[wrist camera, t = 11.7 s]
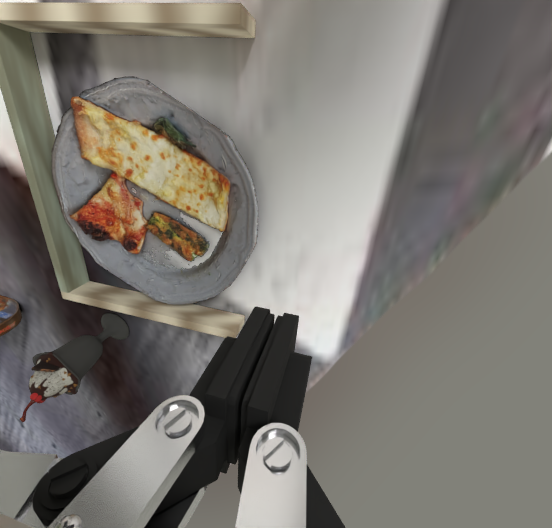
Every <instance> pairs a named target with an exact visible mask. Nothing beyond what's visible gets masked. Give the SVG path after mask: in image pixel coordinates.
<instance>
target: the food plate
mask: <svg viewBox="0 0 552 528" xmlns="http://www.w3.org/2000/svg"><path fill="white" fill-rule="evenodd" d="M150 83H151V82H150ZM218 129H219V128H217V127H216V126H214V125H213V124H211V123H209V122H208V121H206V120H205V119H203V118H202V117H200V116H199V115H198V114H197V113H195V112H194V111H192V110H190V109H189V108H188V107H186V106H185V105H183V104H182V103H180V102H179V101H177V100H176V99H174V98H173V97H171V96H170V95H168V94H167V93H165V92H164V91H162V90H161V89H159V88H158V87H156V86H155V85H154V84H150V85H149V81H148V80H143V79H139V78H137V77H136V78H135V77H122V78H114V79H113V80H111V81H108V82H105V83H103V84H101V85H99V86H97V87H94V88H91V89H88V90H85V91H83V92H82V93H81V94H80V96H79V97H72V98H71V107H70V108H69V109H68V110H67V111H66V112H65V114H64V115H63V116H62V119H61V124H60V125H59V127H58V130H57V135H56V139H55V141H54V144H53V148H52V151H51V152H52V155H51V156H52V161H51V162H52V169H51V171H52V177H53V182H54V186H55V190H56V193H57V197H58V200H59V204H60V207H61V212H62V214H63V217H64V219H65V221H66V223H67V224H68V226H69V227H70V229H71V230H73V233H74V234H76V235H77V237H78V239H79V243H80V244H81V245H82V246H83V247H84V248H85V249H86V250H87V251H88V252H89V253H90V255H91V256H92V257H93V259H94V260H95V261H96V263H97V264H99V265H100V266H102V267H104V269H106V270H108V271H109V272H110V273H112V274H114V275H115V276H117V277H118V278H120V279H122V280H123V281H124V282H126V283H127V284H129V285H131V286H132V287H135V289H137V290H139V291H141V292H142V293H144V294H145V295H146V294H147V295H149V296H148V297H150V298H151V297H152V299H154V300H155V301H160V302H163V303H167V304H173V305H182V304H190V303H191V304H192V303H196V302H199V301H202V300H206V299H209V298H213V297H214V296H216V295H218V294H220V293H221V292H222V291H224V290H225V289H226V288H227V287H229V285H230V286H231V284H232V282H233V281H234V280H235V278H237V276H238V275H239V273H240V272H241V270H242V268H243V267H244V265H245V264H246V262H247V260H248V258H249V257H250V254H251V253H252V251H253V249H254V247H255V245H256V241H257V231H258V229H257V228H258V224H257V223H258V222H257V221H258V214H257V213H258V208H257V199H256V194H255V189H254V184H253V181H252V178H251V176H250V173H249V171H248V168H247V167H246V165H245V164H246V163H245V162H244V160H243V159H242V157H241V155H240V154H239V152H238V151H237V149H236V147H235V145H234V143H233V141H232V139H230V136H229V135H228V136H229V137H228V136H226V133H225V134H224V133H222V132H223V131H220V129H219V130H218ZM131 188H134V189H135V190H136V194H135V193H133V192H132V191H131ZM235 200H236V201H235ZM153 201H154V202H153ZM180 211H181V212H182V213H183V215H187V216H189V217H191V218H195V219H198V220H199V221H200V222H201V223H205V224H207V225H209V226H211V227H213V228H214V229H219V230H220V232H222V231H224V232H223V233H222V235H221V238H220V240H219V242H218V244H217V246H216V247H215V249H214V251H213V252H212V255H211V257H210V258H209V259H207V260H206V261H205V262H204V263H203V264H202V263H200V264H199V266H198V267H197V266H195V265H194V266H193V267H192V268H191V269H186V268H185V269H184V268H183V267H182V268H181V269H182V270H180V269H177V268H176V267H175V266H173V267H172V265H167V267H168V269H167V268H165V265H164V267H163V266H162V265H158V264H157V263H160V262H158V260H156V259H154V261H156V262H154V261H153V259H151V258H150V255H151V256H152V258H154V256H153V255H152V254H149V251H152V253H153V254H155V253H156V251H155V250H157V251H158V252H161V253H163V254H164V258H166V259H168V254H166V253H165V251H170V249H173V250H176V251H177V252H178V254H180V255H181V256H182V257H183V258H185V259H186V260H188V261H194V258H196V257H197V256H200V257H202V256H203V255H204V254H205V253H206V251H208V249H207V248H209V241H207V240H206V239H205V238H204V237H202V235H201V234H199V233H198V232H196V231H195V230H193V229H192V228H191V227H190V226H187V225H186V222H185V224H184V222H183V218H181V217H180ZM177 219H178V220H177ZM188 225H189V224H188ZM161 246H162V247H161ZM152 248H154V249H152ZM146 250H147V252H145V251H146ZM142 251H144V253H142ZM165 254H166V256H165ZM142 256H143V257H147V259H146V258H143V257H142ZM171 257H172V256H171ZM146 260H147V262H146ZM150 260H151V261H152V262H153V263H155V264H156V265H153V264H152V263H150V262H149V261H150ZM168 260H169V261H170V259H168ZM181 263H182V262H181ZM163 264H165V263H163ZM188 265H189V264H188Z"/></svg>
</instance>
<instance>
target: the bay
mask: <svg viewBox="0 0 552 528" xmlns="http://www.w3.org/2000/svg"><path fill="white" fill-rule="evenodd" d="M255 23H256V20H255V19H254V18H253V17H252V16H251V14H250V13H249V12H248V11H247V10H246V9H245V8H244V6H243V5H242V4H241V3H0V88H1V91H2V95H3V98H4V102H5V105H6V108H7V112H8V115H9V118H10V122H11V125H12V129H13V132H14V135H15V139H16V142H17V145H18V149H19V152H20V155H21V159H22V162H23V166H24V169H25V172H26V176H27V179H28V182H29V186H30V189H31V193H32V196H33V199H34V203H35V206H36V209H37V213H38V216H39V219H40V223H41V226H42V230H43V233H44V236H45V240H46V243H47V246H48V250H49V253H50V257H51V260H52V263H53V267H54V270H55V273H56V277H57V280H58V283H59V287H60V290H61V294H62V297H63V299H67V300H71V301H75V302H79V303H83V304H87V305H92V306H96V307H100V308H104V309H108V310H112V311H116V312H121V313H125V314H129V315H133V316H137V317H141V318H145V319H150V320H154V321H158V322H162V323H166V324H170V325H174V326H179V327H183V328H187V329H191V330H195V331H199V332H204V333H208V334H212V335H216V336H220V337H224V338H226V337H227V336H229V337H234V338H236V336H237V335H238V333H239V331H240V330H241V328H242V326H243V324H244V320H245V315H240V314H236V313H231V312H227V311H222V310H218V309H213V308H209V307H204V306H200V305H195V304H191V303H190V304H182V305H173V304H167V303H163V302H160V301H155V300H154V299H152V297H151V298H150V297H148V296H149V295H147V294H146V295H145V294H144V293H141V292H137V291H132V290H128V289H123V288H119V287H114V286H110V285H105V284H101V283H96V282H92V281H89V277H88V273H87V269H86V264H85V260H84V256H83V252H82V248H81V244H80V243H79V239H78V237H77V235H76V234H74V233H73V230H71V229H70V227H69V226H68V224H67V223H66V221H65V219H64V217H63V214H62V212H61V207H60V204H59V200H58V197H57V193H56V190H55V186H54V182H53V177H52V171H51V169H52V162H51V161H52V156H51V155H52V152H51V151H52V148H53V144H54V141H55V136H54V131H53V127H52V123H51V119H50V115H49V111H48V106H47V102H46V98H45V94H44V90H43V86H42V82H41V77H40V73H39V69H38V65H37V61H36V57H35V52H34V48H33V44H32V40H31V36H30V32H41V33H78V34H116V35H153V36H190V37H227V38H255Z"/></svg>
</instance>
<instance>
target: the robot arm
mask: <svg viewBox="0 0 552 528" xmlns="http://www.w3.org/2000/svg"><path fill="white" fill-rule="evenodd" d="M298 321H299V316H297V315H292V314H288V313H284V315H283V316H279V315H278V317H277V319H276V321H275V324H274V314H270V310H269V309H265V308H260V307H255V308H254V309H253V311H252V313H251V314H250V316H249V318H248V320H247V321H246V323H245V325H244V327H243V329H242V330H241V332H240V334H239V336H238V337H237V338H234V337H229V336H227V337H226V338H225V339H224V341H223V342H222V344H221V345H220V347H219V349H218V350H217V352H216V353H215V355H214V357H213V358H212V360H211V361H210V363H209V365H208V366H207V368H206V369H205V371H204V373H203V374H202V376H201V377H200V379H199V381H198V382H197V384H196V386H195V387H194V389H193V390H192V392H191V394H190V395H189V396H188V395H179V396H175V397H172V398H170V399H168V400H166V401H164V402H163V403H161V404H160V405H159V406H158V407H157V408H156V409H155V410H154V411H153V412H152V413H151V414H150V416H149V417H148V418H147V419H146V420H145V421H144V422H143V423H142V424H141V425H140V426H139V427H136V428H134V429H132V430H129V431H127V432H124V433H122V434H119V435H117V436H115V437H112V438H110V439H107V440H105V441H103V442H100V443H98V444H95V445H93V446H90V447H88V448H86V449H83V450H81V451H78V452H76V453H73V454H71V455H69V456H67V457H66V458H58V456H57V454H38V453H19V452H1V451H0V528H185V527H186V525H187V523H188V521H189V520H190V518H191V516H192V514H193V513H194V511H195V509H196V507H197V506H198V504H199V502H200V500H201V498H202V497H203V495H204V493H205V491H206V488H207V486H208V485H209V484H210V483H212V482H214V481H216V480H217V479H218V476H219V474H220V472H223V473H227V470H228V468H229V465H230V463H232V464H236V462H237V460H238V462H239V463H238V488H239V491H240V493H241V498H240V504H239V510H238V515H237V520H236V526H235V528H345V526H344V524H343V523H342V521H341V520H340V518H339V516H338V515H337V513H336V511H335V510H334V508H333V507H332V505H331V503H330V502H329V500H328V498H327V497H326V495H325V493H324V492H323V490H322V489H321V487H320V485H319V484H318V482H317V480H316V479H315V477H314V475H313V474H312V472H311V470H310V469H309V467H308V466H307V453H306V447H305V443H304V441H303V439H302V437H301V436H300V434H299V433H298V428H299V423H300V418H301V412H302V408H303V402H304V397H305V392H306V387H307V382H308V376H309V371H310V365H311V359H312V357H311V356H307V355H303V354H299V353H295V352H294V350H295V343H296V335H297V328H298Z"/></svg>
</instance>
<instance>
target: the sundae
mask: <svg viewBox="0 0 552 528" xmlns="http://www.w3.org/2000/svg"><path fill="white" fill-rule="evenodd" d="M101 324H102V327H103V328H104V331H103V332H102V333H101V334H99V335H98V336H96V337H95V336H91V335H83V336H80V337H78V338H76V339H74V340H72V341H70V342H68V343H67V344H65V345H63V346H61V347H60V348H58V349H56V350H54V351H52V352H45V353H41V354H37V355H35V356H34V357H33V363H34V365H35V366H34V367H33V368H32V370H34V371H35V373H34V374H33V376H31V379H30V382H29V389H30V392H31V396H30V399H31V402H30V403H29V404H28V405H27V407H26V408H25V410H24V412H23V416H22V418H20V420H21V421H22V422H24V421H25V420H26V419H25V418H26V411H27V409H28V408H29V407H30V406H31V405H32V404H33V403H35V402H37V403H42V402H44V401H45V399H47V398H49V397H57V396H59V395H61V394H63V393H66V394H70V395H72V394H76V393H77V392H78V388H79V386H80V382H81V379H82V378H83V376H84V375H85V374H86V373H87V372H88V371H89V370H90V369H91V367H92V366H93V365H94V364H95V363H96V362H97V360H98V359H99V358H100V356H101V355H102V350H103V346H102V342H103V341H104V340H105V339H106V338H108V337H109V336H111V337H113V338H115V339H119V340H122V339H126V338H127V337H128V335H129V328H128V326H127V324H126V322H125V321H124V320H123V319H122V318H121V317H119V316H118V315H116V314H112V313H106V314H104V315H103V316H102V318H101ZM33 401H34V402H33ZM24 413H25V415H24Z"/></svg>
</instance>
